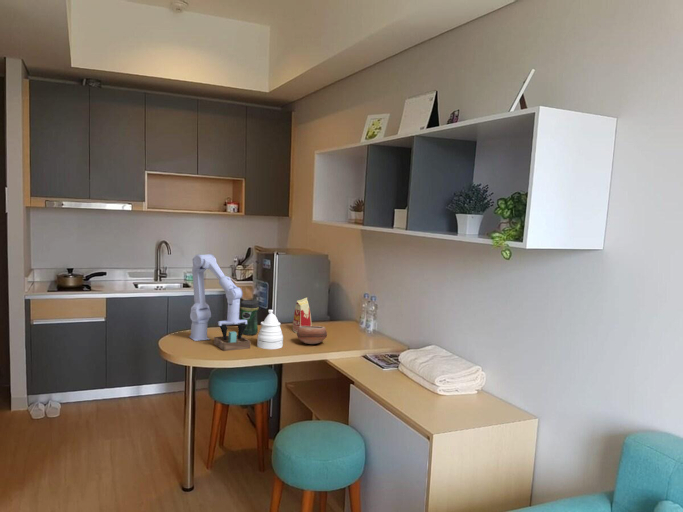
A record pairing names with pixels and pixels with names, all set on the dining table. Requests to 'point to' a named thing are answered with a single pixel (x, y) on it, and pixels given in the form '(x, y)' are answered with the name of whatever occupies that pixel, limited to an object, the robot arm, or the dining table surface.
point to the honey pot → (270, 333)
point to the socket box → (239, 343)
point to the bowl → (311, 334)
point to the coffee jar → (249, 316)
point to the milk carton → (301, 314)
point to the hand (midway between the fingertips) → (232, 339)
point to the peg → (232, 337)
